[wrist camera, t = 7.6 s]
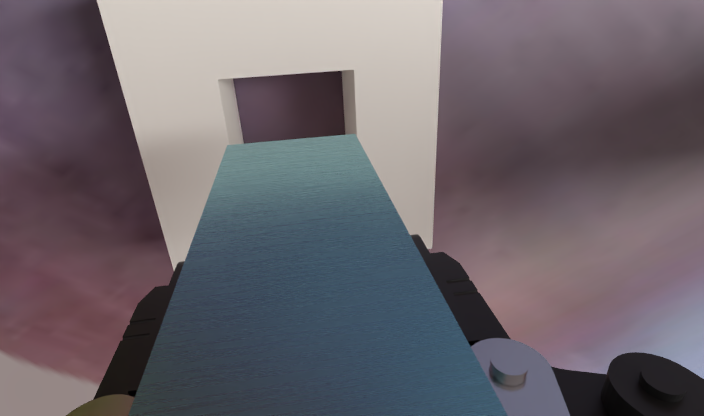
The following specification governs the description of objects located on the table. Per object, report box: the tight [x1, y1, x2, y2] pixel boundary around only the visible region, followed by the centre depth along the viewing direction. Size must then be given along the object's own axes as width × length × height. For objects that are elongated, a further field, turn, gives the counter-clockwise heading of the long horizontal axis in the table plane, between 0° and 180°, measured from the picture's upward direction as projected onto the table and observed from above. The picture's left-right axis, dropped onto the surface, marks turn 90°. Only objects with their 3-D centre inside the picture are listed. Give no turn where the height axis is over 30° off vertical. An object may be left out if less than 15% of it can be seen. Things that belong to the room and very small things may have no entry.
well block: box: [97, 0, 443, 271], centre depth 22 cm, size 14×14×5 cm
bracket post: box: [128, 134, 508, 416], centre depth 9 cm, size 4×4×12 cm
